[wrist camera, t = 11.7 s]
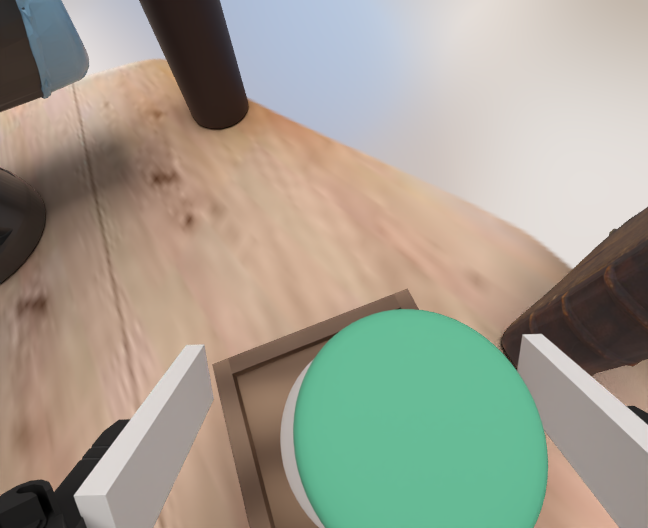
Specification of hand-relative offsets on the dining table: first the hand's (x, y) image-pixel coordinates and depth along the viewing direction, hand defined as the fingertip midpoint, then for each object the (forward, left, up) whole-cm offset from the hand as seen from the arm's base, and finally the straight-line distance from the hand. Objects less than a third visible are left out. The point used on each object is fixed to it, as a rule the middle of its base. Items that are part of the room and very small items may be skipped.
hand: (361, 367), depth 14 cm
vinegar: (-36, -2, -13) cm, 38 cm away
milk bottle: (+2, 0, -12) cm, 12 cm away
